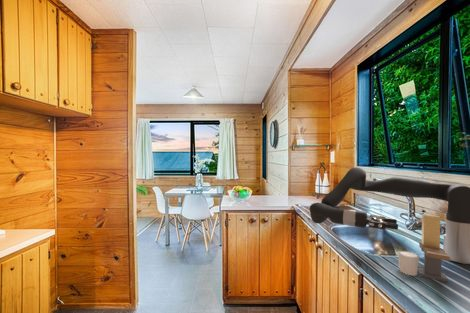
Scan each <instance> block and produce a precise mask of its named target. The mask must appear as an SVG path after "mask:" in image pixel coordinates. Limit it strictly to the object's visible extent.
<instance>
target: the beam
mask: <svg viewBox="0 0 470 313" xmlns="http://www.w3.org/2000/svg"><path fill="white" fill-rule="evenodd" d="M418 247H419V248H420V250H421V252H423V253H425V255H426V256H427V257H430V258H435V259H440V260H442V261H447V262H450V261H451V260H450V256H449V255H447V254H446V253H445V251H444V250H443V249H442V248H441V247H440V249H439V248H433V247H427V246H423V245H422V242H421V241H420V242H419V246H418Z"/></svg>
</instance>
